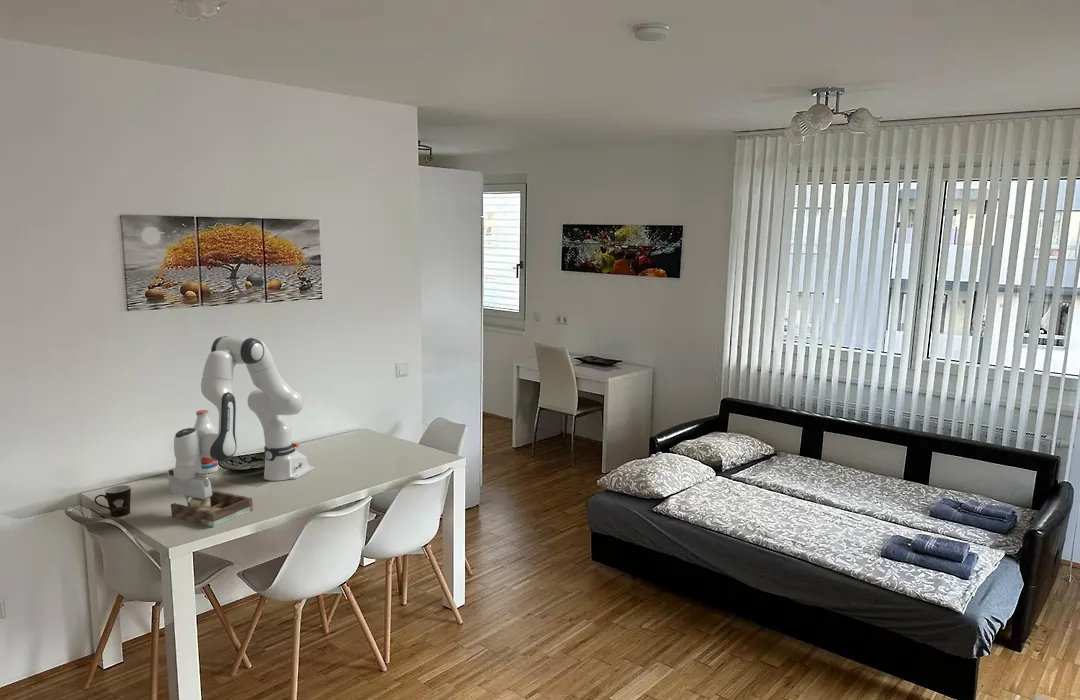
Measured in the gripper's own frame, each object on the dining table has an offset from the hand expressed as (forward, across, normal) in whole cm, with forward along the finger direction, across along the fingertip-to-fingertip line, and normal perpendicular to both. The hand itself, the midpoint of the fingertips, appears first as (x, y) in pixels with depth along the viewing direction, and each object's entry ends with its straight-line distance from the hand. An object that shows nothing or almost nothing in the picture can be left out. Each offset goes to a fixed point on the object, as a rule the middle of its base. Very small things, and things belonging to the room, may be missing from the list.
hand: (192, 506), depth 282 cm
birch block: (+1, -5, 0) cm, 5 cm away
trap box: (+3, -7, -4) cm, 8 cm away
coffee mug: (+4, +27, +13) cm, 30 cm away
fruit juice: (+3, +40, -38) cm, 55 cm away
